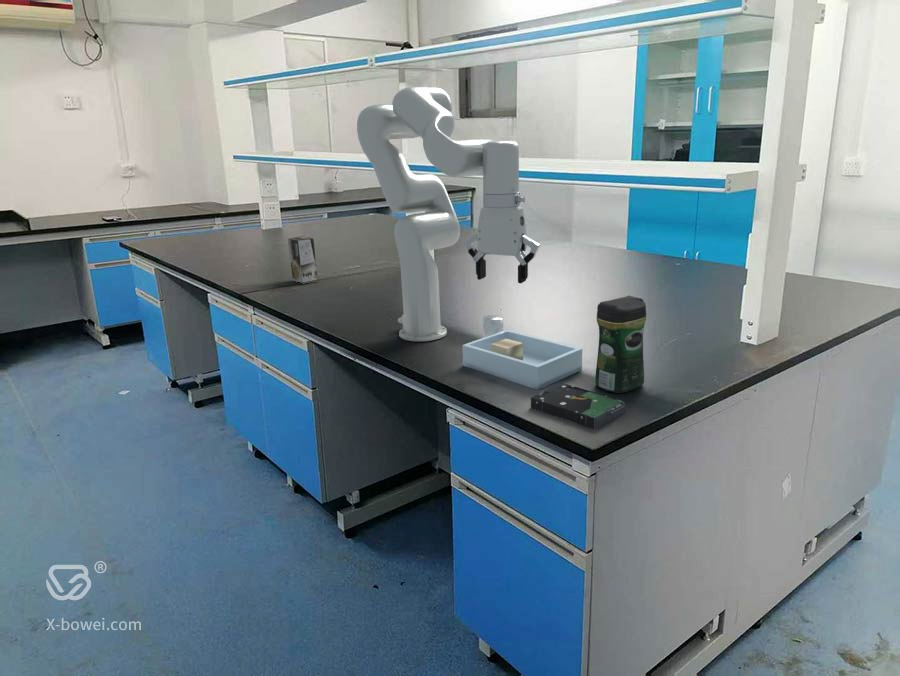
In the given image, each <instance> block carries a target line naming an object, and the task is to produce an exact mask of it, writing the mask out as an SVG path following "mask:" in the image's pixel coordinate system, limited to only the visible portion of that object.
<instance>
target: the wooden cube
mask: <svg viewBox="0 0 900 676" xmlns="http://www.w3.org/2000/svg"><path fill="white" fill-rule="evenodd" d="M491 351H492V352H495V353H499V354H502V355H505V356H509V357H512V358H516V359H519V360H523V343H521V342H517V341H513V340H509V339H504V340H501V341H498V342H495V343H492V344H491Z"/></svg>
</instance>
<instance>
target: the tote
mask: <svg viewBox="0 0 900 676" xmlns="http://www.w3.org/2000/svg"><path fill="white" fill-rule="evenodd" d="M504 339H509V340H513V341H517V342H521V343H523V360H519V359H516V358H512V357H509V356H505V355H502V354H499V353H495V352H492V351H491V344H492V343H495V342H498V341H501V340H504ZM461 347H462V365H463V367H466V368H468V369H472V370H475V371H478V372H481V373H484V374H487V375H491V376H493V377H497V378H499V379H502V380H506V381H510V382H512V383H515V384H518V385H521V386H524V387H527V388H531V389H533V390H537V391H539V390H541V389H544V388H546V387H548V386H550V385H552V384H555V383H556V382H559V381H561V380H563V379H565V378H567V377H570V376H572V375H574V374H576V373H579V372H582V371H583V348H582V347H577V346H574V345H570V344H566V343H562V342H559V341H558V342H557V341H553V340H549V339H545V338H542V337H538V336H534V335H529V334H527V333H523V332H517V331H514V330H510V329H505V330H504V331H502V332H499V333H496V334H493V335H490V336H487V337H484V336H483V337H482V338H479V339H477V340H473V341H470V342H468V343H465V344H462V346H461Z"/></svg>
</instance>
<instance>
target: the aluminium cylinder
mask: <svg viewBox="0 0 900 676" xmlns="http://www.w3.org/2000/svg"><path fill="white" fill-rule="evenodd" d="M482 327H483V328H482V329H483V338H484V337H487V336H490V335H493V334H496V333H499V332H502V331H505V330H504V329H505V328H504V327H505V326H504V316H502V315H498V314H488V315H485V316H483V317H482Z"/></svg>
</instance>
